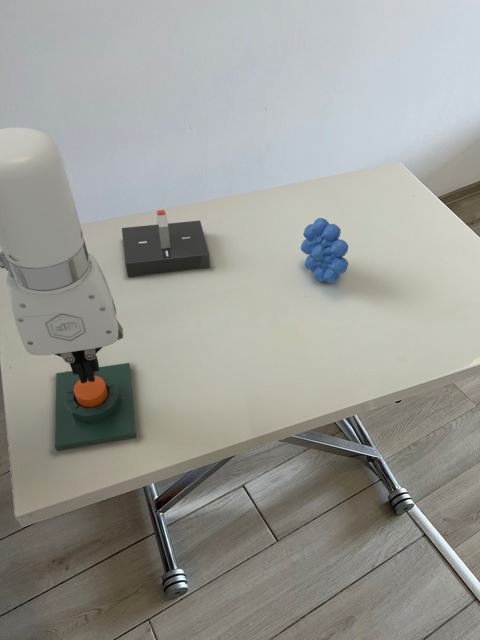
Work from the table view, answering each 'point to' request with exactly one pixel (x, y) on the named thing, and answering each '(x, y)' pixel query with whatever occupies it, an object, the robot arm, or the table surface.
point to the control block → (95, 410)
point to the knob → (163, 229)
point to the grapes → (324, 251)
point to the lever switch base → (152, 259)
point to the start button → (91, 392)
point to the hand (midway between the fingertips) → (88, 373)
